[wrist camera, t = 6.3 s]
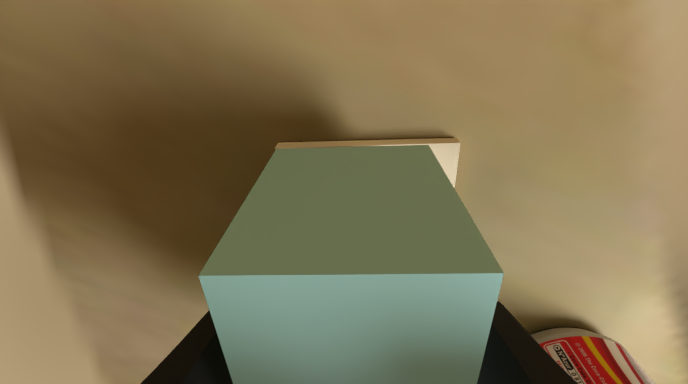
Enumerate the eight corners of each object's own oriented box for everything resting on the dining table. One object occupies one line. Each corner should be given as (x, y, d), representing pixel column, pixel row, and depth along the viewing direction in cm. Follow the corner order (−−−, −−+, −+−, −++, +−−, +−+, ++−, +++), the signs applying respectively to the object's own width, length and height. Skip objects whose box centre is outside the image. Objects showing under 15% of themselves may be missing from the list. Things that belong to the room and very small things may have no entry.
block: (276, 148, 10) (198, 275, 5) (428, 144, 10) (503, 272, 5) (306, 360, 15) (281, 534, 10) (410, 360, 14) (438, 539, 9)
